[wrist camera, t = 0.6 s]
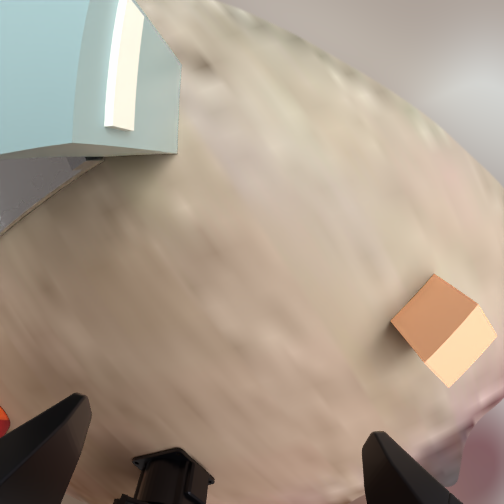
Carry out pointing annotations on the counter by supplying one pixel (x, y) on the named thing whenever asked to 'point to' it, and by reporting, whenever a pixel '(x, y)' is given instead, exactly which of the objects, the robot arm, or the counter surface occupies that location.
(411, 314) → the block
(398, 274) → the counter surface
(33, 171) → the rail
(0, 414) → the paper cup
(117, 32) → the block
